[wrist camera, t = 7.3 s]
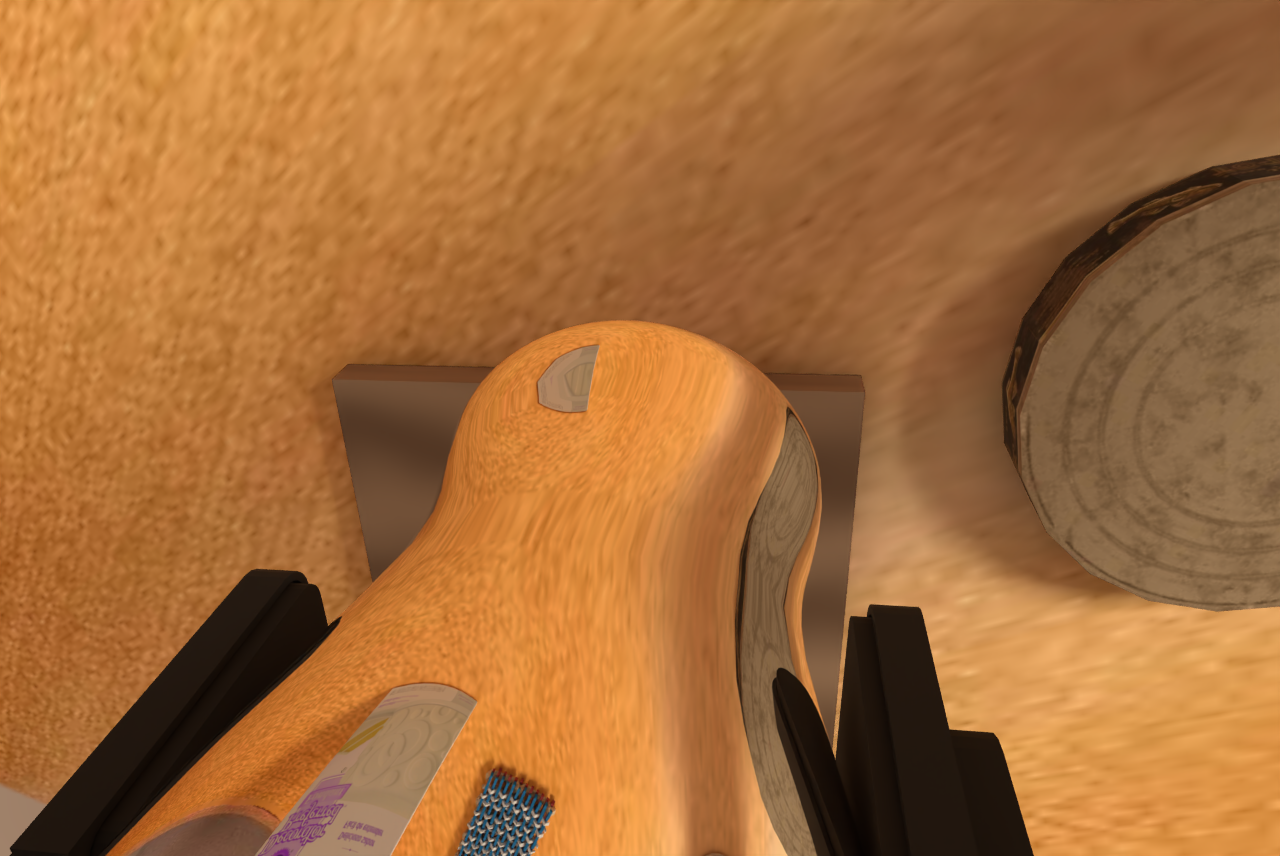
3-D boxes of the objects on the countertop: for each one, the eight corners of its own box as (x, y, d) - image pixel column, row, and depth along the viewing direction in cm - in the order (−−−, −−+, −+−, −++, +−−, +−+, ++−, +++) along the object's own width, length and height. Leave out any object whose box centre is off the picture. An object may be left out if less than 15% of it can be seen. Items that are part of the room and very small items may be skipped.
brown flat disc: (955, 244, 31) (973, 270, 28) (1498, 72, 27) (1578, 84, 24) (1041, 601, 37) (1061, 649, 35) (1494, 507, 33) (1557, 554, 30)
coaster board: (348, 364, 36) (327, 383, 34) (861, 375, 33) (866, 397, 32) (418, 734, 45) (405, 764, 43) (826, 765, 42) (829, 797, 41)
